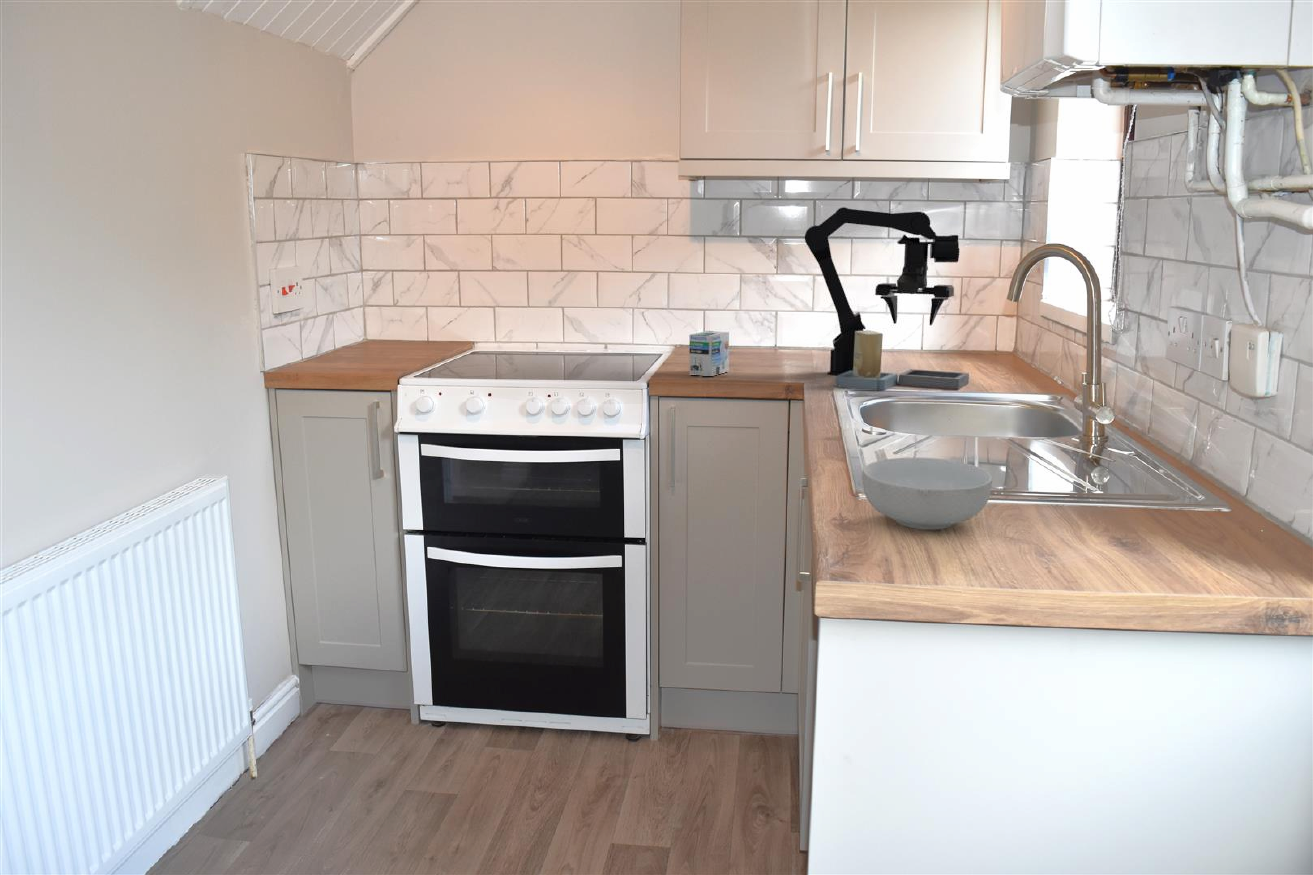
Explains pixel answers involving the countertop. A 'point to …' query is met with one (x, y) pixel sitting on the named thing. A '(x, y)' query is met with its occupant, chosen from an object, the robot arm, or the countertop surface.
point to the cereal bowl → (926, 491)
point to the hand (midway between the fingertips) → (912, 324)
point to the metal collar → (934, 379)
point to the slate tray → (866, 381)
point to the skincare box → (867, 354)
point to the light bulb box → (709, 353)
